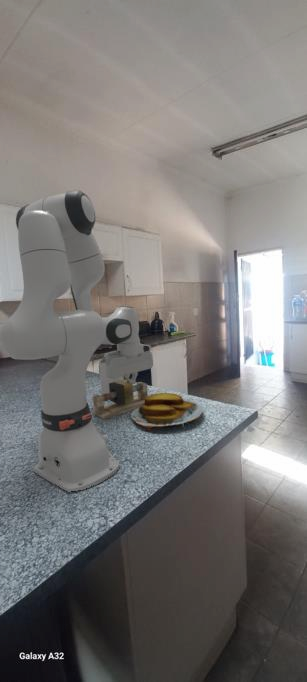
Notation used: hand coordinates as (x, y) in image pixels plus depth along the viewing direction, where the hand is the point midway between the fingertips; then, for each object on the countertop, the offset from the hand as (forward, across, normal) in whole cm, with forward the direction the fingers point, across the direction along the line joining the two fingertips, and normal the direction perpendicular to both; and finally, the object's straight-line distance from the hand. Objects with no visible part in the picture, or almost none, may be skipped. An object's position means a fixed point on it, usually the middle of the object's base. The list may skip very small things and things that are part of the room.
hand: (131, 384), depth 113 cm
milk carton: (+8, 0, +15) cm, 17 cm away
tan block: (+5, -3, 0) cm, 6 cm away
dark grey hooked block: (+5, -7, 0) cm, 9 cm away
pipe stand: (+8, -5, 0) cm, 9 cm away
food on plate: (+9, +1, -18) cm, 20 cm away
